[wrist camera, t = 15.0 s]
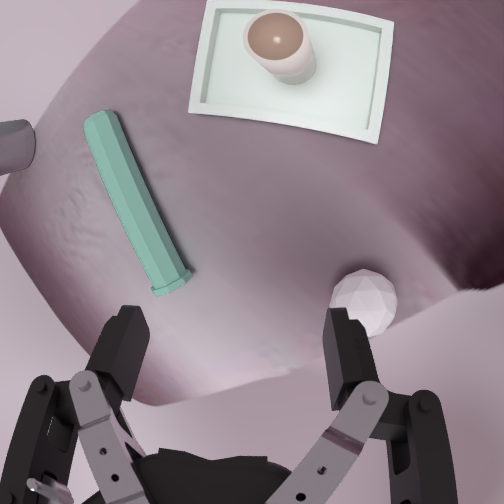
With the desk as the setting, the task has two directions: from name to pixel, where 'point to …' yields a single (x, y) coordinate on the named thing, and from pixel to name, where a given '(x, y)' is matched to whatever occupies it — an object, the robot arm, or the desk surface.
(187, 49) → the desk surface
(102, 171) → the green faceted rod
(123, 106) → the desk surface
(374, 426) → the robot arm
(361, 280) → the geometric ball
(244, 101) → the tray
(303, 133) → the desk surface
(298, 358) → the desk surface
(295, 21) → the cup
